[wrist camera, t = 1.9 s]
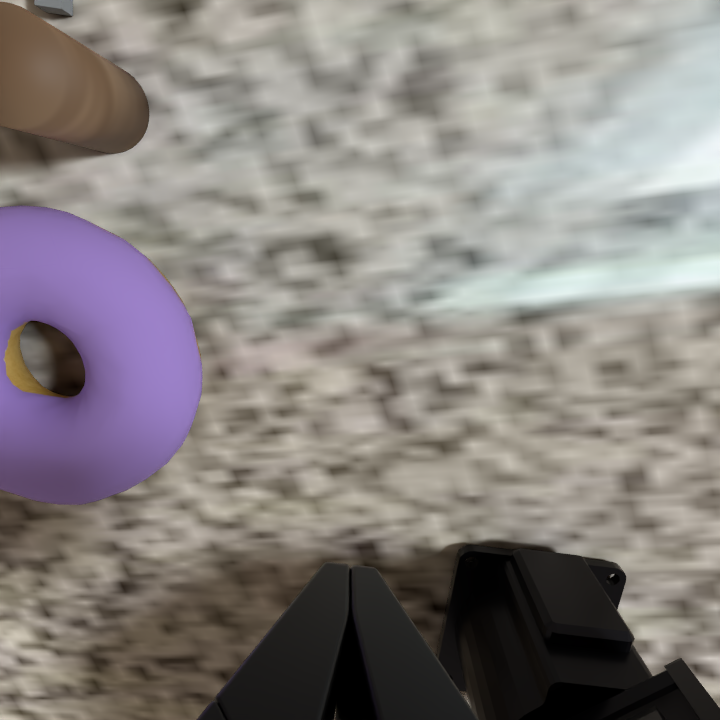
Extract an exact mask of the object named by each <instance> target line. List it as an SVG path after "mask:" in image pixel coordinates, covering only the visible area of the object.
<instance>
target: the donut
mask: <svg viewBox="0 0 720 720" xmlns="http://www.w3.org/2000/svg"><path fill="white" fill-rule="evenodd" d="M30 321H39V322H42V323H45V324H48V325H51V326H53V327H55V328H57V329H58V330H60V331H61V332H62V333H64V334H65V335H66V336H67V337H68V338H69V339H70V340H71V341H72V342H73V343H74V345H75V347H76V349H77V350H78V352H79V354H80V355H81V357H82V361H83V364H84V368H85V384H84V387H83V389H82V390H81V392H80V393H79V394H78V395H75V396H71V397H70V396H63V395H60V394H57V393H54V392H52V391H50V390H48V389H46V388H44V387H43V386H42V385H41V384H40V383H39V382H38V381H37V380H36V379H35V378H34V377H33V375H32V374H31V373H30V371H29V370H28V368H27V367H26V365H25V363H24V360H23V357H22V353H21V350H20V334H21V332H22V331H23V329H24V327H25V325H26V324H27V323H28V322H30ZM201 392H202V363H201V354H200V350H199V347H198V343H197V339H196V335H195V332H194V328H193V324H192V320H191V317H190V316H189V314H188V312H187V310H186V308H185V306H184V303H183V301H182V300H181V298H180V297H179V295H178V294H177V292H176V291H175V289H174V288H173V286H172V285H171V284H170V282H169V281H168V280H167V278H166V277H165V276H164V275H163V274H162V273H161V272H160V271H159V270H158V268H157V267H156V266H155V265H154V264H153V263H152V262H151V261H150V260H149V259H148V258H147V257H146V256H144V255H143V254H142V253H140V252H139V251H138V250H137V249H136V248H134V247H133V246H132V245H131V244H129V243H128V242H127V241H126V240H124V239H122V238H120V237H119V236H117V235H115V234H113V233H111V232H109V231H107V230H105V229H103V228H101V227H99V226H97V225H95V224H93V223H90V222H88V221H86V220H84V219H82V218H79V217H77V216H75V215H73V214H70V213H68V212H64V211H60V210H56V209H51V208H47V207H35V206H10V207H0V489H1V490H4V491H7V492H10V493H13V494H16V495H19V496H22V497H26V498H29V499H32V500H35V501H40V502H47V503H53V504H69V505H81V504H86V503H90V502H94V501H98V500H101V499H104V498H106V497H109V496H112V495H115V494H117V493H120V492H123V491H126V490H128V489H129V488H131V487H133V486H135V485H137V484H138V483H140V482H142V481H144V480H145V479H147V478H148V477H149V476H151V475H152V474H153V473H155V472H156V471H157V470H159V469H160V468H161V467H163V466H164V465H165V464H167V463H168V461H169V460H170V459H171V458H172V456H173V455H174V454H175V453H176V452H177V450H178V449H179V448H180V447H181V445H182V444H183V442H184V440H185V439H186V437H187V435H188V432H189V430H190V428H191V426H192V423H193V420H194V417H195V414H196V410H197V407H198V404H199V401H200V397H201Z"/></svg>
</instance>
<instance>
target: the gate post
mask: <svg viewBox="0 0 720 720" xmlns="http://www.w3.org/2000/svg"><path fill="white" fill-rule="evenodd" d="M148 122H149V106H148V102H147V98H146V96H145V93H144V91H143V89H142V87H141V86H140V85H139V83H138V82H137V81H136V80H135V78H134V77H132V76H131V75H130V74H129V73H127V72H126V71H124V70H123V69H121V68H120V67H118V66H116V65H115V64H113V63H112V62H110V61H108V60H107V59H105V58H103V57H102V56H100V55H99V54H97V53H95V52H94V51H92V50H91V49H89V48H87V47H86V46H84V45H82V44H81V43H79V42H78V41H76V40H74V39H73V38H71V37H70V36H68V35H66V34H65V33H63V32H62V31H60V30H58V29H57V28H55V27H53V26H52V25H50V24H49V23H47V22H45V21H44V20H42V19H41V18H39V17H37V16H36V15H34V14H32V13H31V12H29V11H28V10H26V9H24V8H22V7H20V6H17V5H14V4H11V3H6V2H0V126H3V127H7V128H11V129H15V130H19V131H23V132H27V133H31V134H34V135H38V136H42V137H46V138H50V139H54V140H58V141H62V142H66V143H70V144H73V145H77V146H81V147H85V148H89V149H93V150H97V151H101V152H105V153H121V152H124V151H127V150H129V149H131V148H133V147H134V146H135V145H136V144H137V143H138V142H139V141H140V140H141V139H142V137H143V136H144V134H145V132H146V129H147V127H148Z"/></svg>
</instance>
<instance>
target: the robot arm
mask: <svg viewBox="0 0 720 720" xmlns="http://www.w3.org/2000/svg"><path fill="white" fill-rule="evenodd" d="M469 557H475V560H473V561H472V562H467V561H466V559H467V558H469ZM611 574H614V576H613V577H611V578H608V579H607V577H608V576H609V575H611ZM625 582H626V575H625V573H624V571H623V570H622V569H621V567H620V566H619V565H618V564H616V563H614V562H609V561H601V560H592V559H584V558H582V557H581V556H578V555H570V554H561V553H553V552H545V551H537V550H528V549H517V550H510V549H502V548H494V547H485V546H477V545H466V546H464V547H462V548H461V549H460V550H459V551H458V553H457V557H456V561H455V566H454V571H453V576H452V581H451V586H450V591H449V596H448V601H447V605H446V610H445V615H444V620H443V625H442V630H441V635H440V640H439V645H438V649H437V654H436V656H435V654H434V653H433V651H432V650H431V648H430V647H429V645H428V644H427V642H426V641H425V639H424V638H423V636H422V635H421V633H420V632H419V630H418V629H417V627H416V626H415V625H414V623H413V622H412V620H411V619H410V617H409V616H408V614H407V613H406V611H405V610H404V608H403V607H402V605H401V604H400V602H399V601H398V599H397V598H396V596H395V595H394V593H393V592H392V591H391V589H390V588H389V586H388V585H387V583H386V582H385V580H384V579H383V577H382V576H381V574H380V573H379V571H378V570H377V569H376V568H374V567H367V566H359V565H353V566H352V567H351V568H350V567H349V566H348V565H347V564H342V563H334V562H325V563H324V564H323V565H322V566H321V567H320V568H319V570H318V571H317V572H316V573H315V575H314V576H313V577H312V578H311V580H310V581H309V582H308V583H307V584H306V586H305V587H304V588H303V589H302V591H301V592H300V593H299V594H298V596H297V597H296V598H295V599H294V601H293V602H292V603H291V604H290V605H289V607H288V608H287V609H286V610H285V612H284V613H283V614H282V615H281V617H280V618H279V619H278V620H277V622H276V623H275V624H274V625H273V626H272V628H271V629H270V630H269V631H268V633H267V634H266V635H265V636H264V638H263V639H262V640H261V641H260V643H259V644H258V645H257V646H256V647H255V649H254V650H253V651H252V652H251V654H250V655H249V656H248V657H247V659H246V660H245V661H244V662H243V664H242V665H241V666H240V667H239V668H238V670H237V671H236V672H235V673H234V675H233V676H232V677H231V678H230V680H229V681H228V682H227V683H226V685H225V686H224V687H223V688H222V689H221V691H220V692H219V693H218V694H217V696H216V697H215V699H214V701H212V702H211V703H210V704H209V705H208V706H207V708H206V709H205V710H204V711H203V713H202V714H201V715H200V716H199V717H198V719H197V720H334V716H335V720H720V708H719V707H718V706H717V704H716V703H715V702H714V700H713V699H712V698H711V696H710V695H709V694H708V692H707V691H706V690H705V689H704V687H703V686H702V685H701V683H700V682H699V681H698V679H697V678H696V677H695V675H694V674H693V673H692V672H691V670H690V669H689V668H688V666H687V665H686V664H685V662H684V661H683V660H682V658H679V659H677V660H675V661H673V662H671V663H669V664H667V665H665V666H664V667H665V668H666V670H665V671H663V672H661V673H659V674H657V675H655V676H652V674H651V672H650V671H649V669H648V668H647V666H646V664H645V663H644V661H643V660H642V658H641V657H640V655H639V653H638V652H637V650H636V649H635V647H634V646H633V642H634V636H633V634H632V632H631V631H630V629H629V628H628V626H627V625H626V623H625V622H624V620H623V619H622V617H621V615H620V614H619V612H618V611H617V609H618V605H619V602H620V599H621V595H622V592H623V589H624V585H625ZM448 674H449V675H448ZM460 691H466V692H467V695H468V700H469V704H468V703H467V701H466V700H465V698H464V697H463V695H462V694H461V693H460ZM469 705H470V706H469ZM335 709H336V714H335Z"/></svg>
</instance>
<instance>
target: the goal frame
mask: <svg viewBox="0 0 720 720" xmlns="http://www.w3.org/2000/svg"><path fill="white" fill-rule="evenodd" d="M34 5H36V6H37V7H39V8H40V9H42V10H43V11H45V12H47V13H54V14H61V15H68V16H73V0H34Z"/></svg>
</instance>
